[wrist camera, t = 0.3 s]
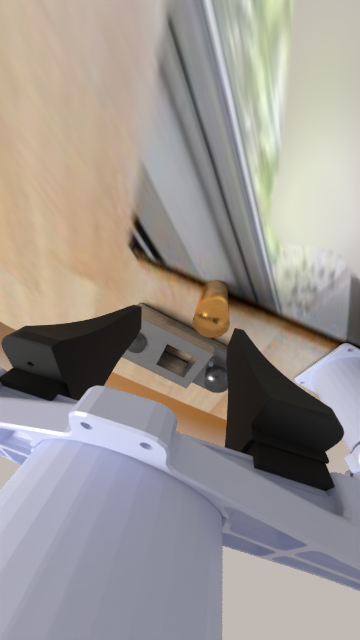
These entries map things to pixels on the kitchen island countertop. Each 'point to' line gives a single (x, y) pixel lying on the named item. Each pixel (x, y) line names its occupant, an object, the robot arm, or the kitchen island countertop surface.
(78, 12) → the kitchen island countertop surface
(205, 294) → the pin
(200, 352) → the gray slab
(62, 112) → the kitchen island countertop surface
